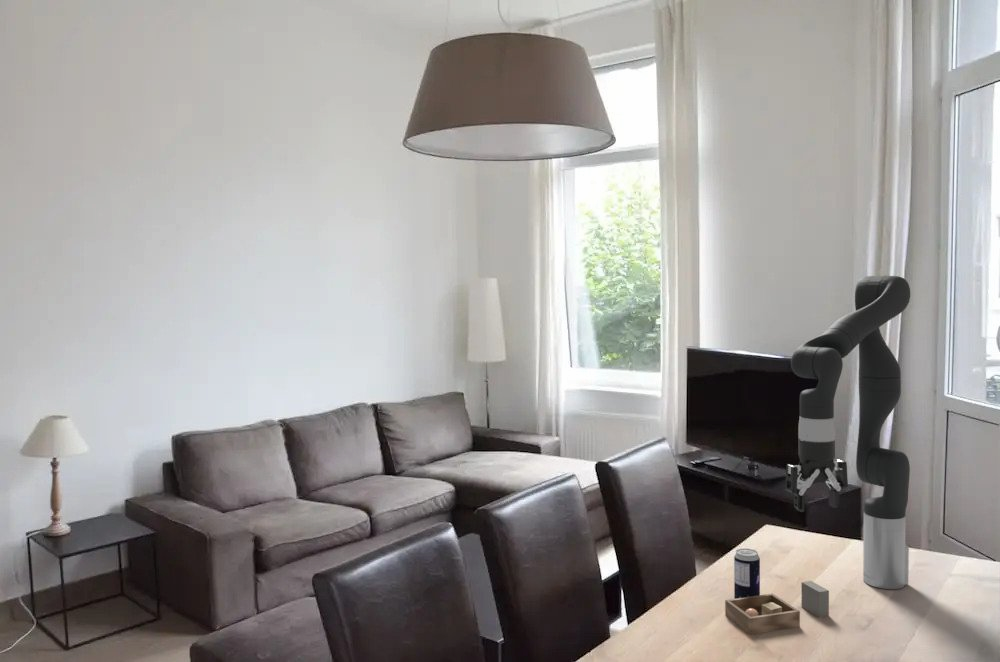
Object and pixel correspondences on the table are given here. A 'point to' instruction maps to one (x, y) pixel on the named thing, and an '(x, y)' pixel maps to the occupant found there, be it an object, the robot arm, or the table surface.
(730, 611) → the box
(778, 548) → the table surface
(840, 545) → the table surface
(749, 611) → the terracotta ball
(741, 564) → the beverage can
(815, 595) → the lid
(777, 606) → the maple cube
